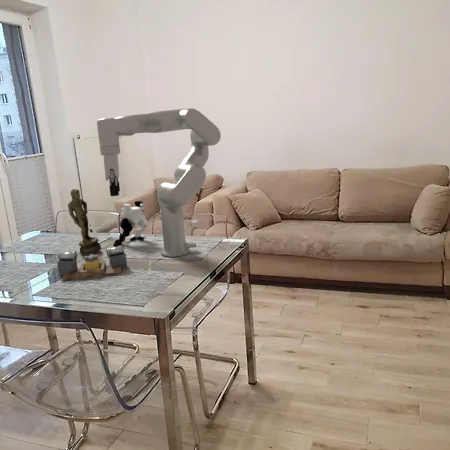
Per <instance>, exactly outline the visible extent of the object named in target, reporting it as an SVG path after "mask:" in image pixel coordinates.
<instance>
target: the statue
mask: <svg viewBox="0 0 450 450" xmlns="http://www.w3.org/2000/svg"><path fill="white" fill-rule="evenodd" d="M80 193H81V192H80V190H79V189H77V188H72V190H70V195H71V201H69V202H68V204H67V208H68V209H67V210H68V213H69V216H70V217H71V219H72V220H73V222H74V224H75V225H77V226H78V227H79V228H80V229H81V230H80V233H81V237H82V241H80V242H79V243H78V246H79V252H80V253H79V254H80V255H91V254H94V253H97V252H100V250H102V245H101V243H99V238H98V237H94V236H93V237H92V236H90V235H89V219H88V216H87V214H88V203H87V202H86V201H85V200H83V199H81V194H80ZM74 213H75V214H74Z"/></svg>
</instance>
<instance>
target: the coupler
mask: <svg viewBox="0 0 450 450" xmlns="http://www.w3.org/2000/svg"><path fill="white" fill-rule="evenodd" d="M99 262H100V258H99V255H98V254H96V255H95V254H94V253H90V254H89V255H85V256H84V263H85V270H93V269H100V263H99Z"/></svg>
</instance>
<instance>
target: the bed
mask: <svg viewBox="0 0 450 450" xmlns="http://www.w3.org/2000/svg"><path fill="white" fill-rule="evenodd" d="M99 263H100V269H93V270H85V262H84V263H81V265H80V267H77V268H78V269H77V270H76V271H75V272H74V273H65V274H64V276H62V282H66V280H68V281H75V280H74V279H76V280H83V278H85V279H93V278H92V277H94V278H100V277H109V276H110V275H111V276H119V275H121V274H122V269H121V267H118V268H113V269H112V268H111V266H110V264H107V263H106V260H105V261H103V260H102V261H99Z"/></svg>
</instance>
